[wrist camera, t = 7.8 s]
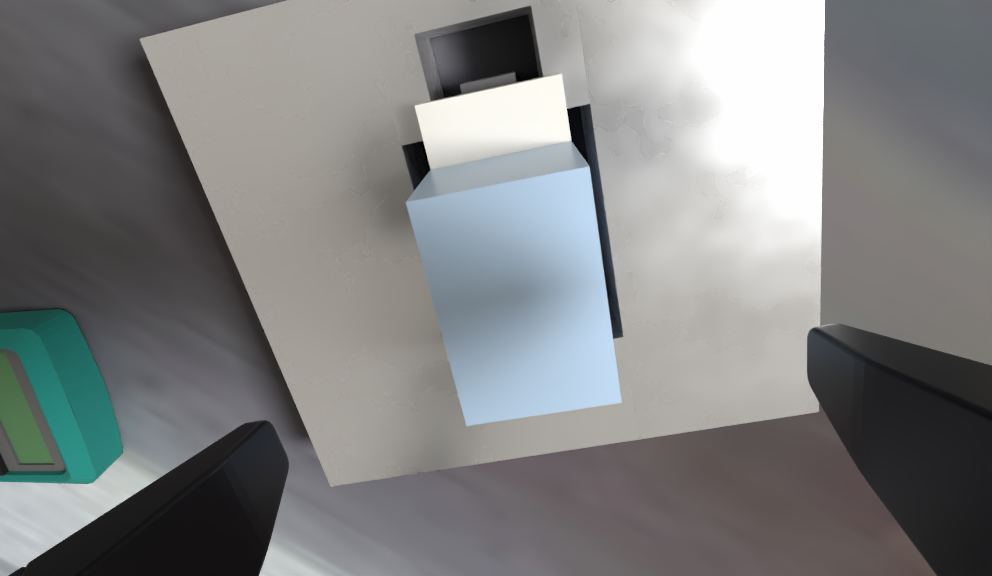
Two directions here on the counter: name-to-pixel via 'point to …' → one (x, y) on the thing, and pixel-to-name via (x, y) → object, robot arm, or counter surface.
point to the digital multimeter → (52, 402)
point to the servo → (513, 251)
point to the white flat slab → (616, 189)
